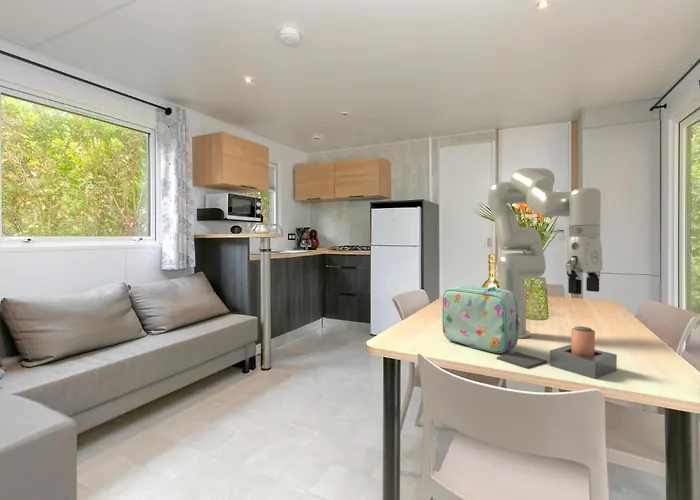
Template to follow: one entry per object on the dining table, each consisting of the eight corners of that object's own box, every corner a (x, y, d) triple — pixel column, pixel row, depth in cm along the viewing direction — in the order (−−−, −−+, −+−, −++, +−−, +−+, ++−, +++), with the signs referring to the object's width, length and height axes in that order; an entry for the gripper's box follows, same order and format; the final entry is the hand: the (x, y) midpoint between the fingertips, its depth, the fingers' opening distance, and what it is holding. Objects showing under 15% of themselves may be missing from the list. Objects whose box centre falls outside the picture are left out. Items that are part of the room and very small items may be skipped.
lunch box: (525, 352, 118) (525, 287, 118) (508, 358, 112) (509, 289, 112) (456, 335, 139) (456, 280, 139) (439, 340, 133) (439, 282, 133)
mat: (496, 358, 112) (496, 357, 112) (516, 353, 117) (516, 351, 117) (527, 368, 103) (527, 366, 103) (547, 362, 108) (547, 360, 108)
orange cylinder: (567, 366, 105) (567, 327, 104) (577, 363, 108) (577, 325, 107) (588, 372, 100) (588, 331, 100) (598, 369, 103) (598, 328, 102)
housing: (549, 365, 106) (550, 350, 106) (572, 358, 112) (572, 344, 112) (594, 378, 95) (595, 361, 95) (616, 370, 102) (616, 354, 102)
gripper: (582, 231, 95) (582, 296, 95) (613, 232, 104) (613, 291, 104) (553, 232, 101) (553, 293, 102) (585, 233, 110) (585, 289, 111)
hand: (584, 292), depth 103 cm, fingers open, 9 cm apart
